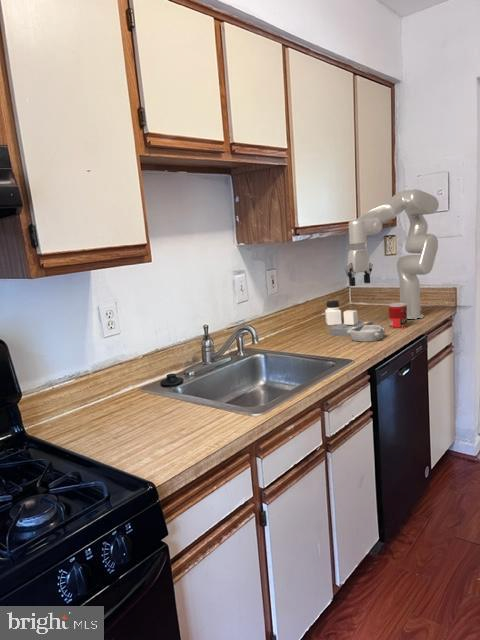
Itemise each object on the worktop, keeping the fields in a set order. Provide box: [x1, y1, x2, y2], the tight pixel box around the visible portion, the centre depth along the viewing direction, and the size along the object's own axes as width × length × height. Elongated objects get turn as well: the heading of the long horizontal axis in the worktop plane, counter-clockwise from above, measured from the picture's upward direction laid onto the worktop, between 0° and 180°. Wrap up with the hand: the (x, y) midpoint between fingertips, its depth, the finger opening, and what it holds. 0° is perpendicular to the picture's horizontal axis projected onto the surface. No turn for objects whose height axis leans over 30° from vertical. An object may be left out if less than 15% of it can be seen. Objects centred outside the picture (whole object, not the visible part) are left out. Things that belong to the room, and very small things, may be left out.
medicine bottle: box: [324, 299, 343, 326], centre depth 243 cm, size 7×7×12 cm
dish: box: [347, 324, 386, 342], centre depth 205 cm, size 14×14×5 cm
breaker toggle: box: [343, 309, 359, 325], centre depth 222 cm, size 4×5×6 cm
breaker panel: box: [328, 319, 374, 337], centre depth 223 cm, size 20×12×3 cm, turn 139°
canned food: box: [388, 302, 408, 329], centre depth 221 cm, size 8×8×11 cm
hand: (359, 284), depth 219 cm, fingers open, 9 cm apart
